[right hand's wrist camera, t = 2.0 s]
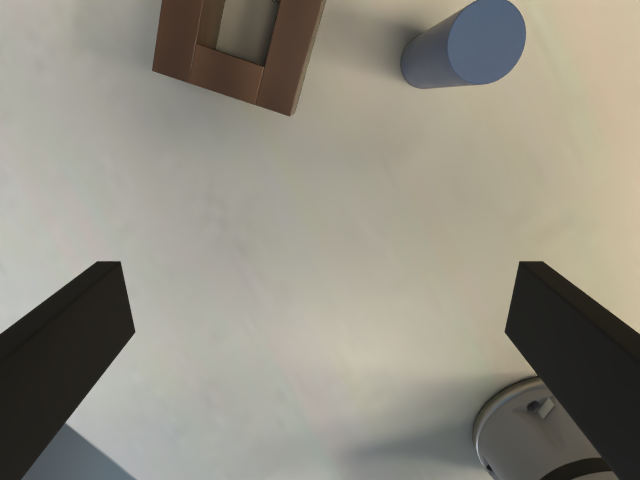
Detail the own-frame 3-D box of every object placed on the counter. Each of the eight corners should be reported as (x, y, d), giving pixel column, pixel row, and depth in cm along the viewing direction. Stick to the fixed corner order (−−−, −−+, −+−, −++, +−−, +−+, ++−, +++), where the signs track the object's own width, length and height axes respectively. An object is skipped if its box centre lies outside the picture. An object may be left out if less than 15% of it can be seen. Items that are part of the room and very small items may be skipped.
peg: (458, 44, 30) (540, 13, 19) (438, 95, 31) (503, 94, 20) (412, 26, 30) (467, -16, 18) (393, 79, 31) (434, 70, 20)
